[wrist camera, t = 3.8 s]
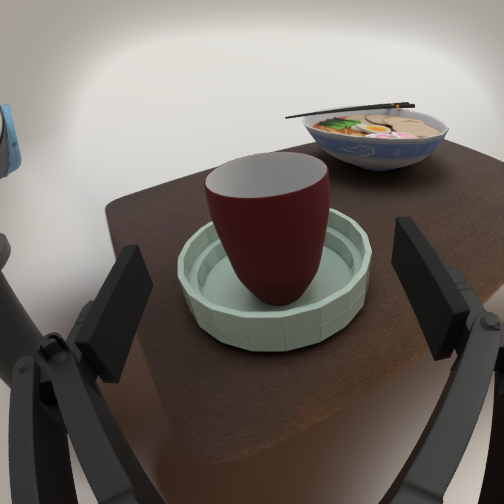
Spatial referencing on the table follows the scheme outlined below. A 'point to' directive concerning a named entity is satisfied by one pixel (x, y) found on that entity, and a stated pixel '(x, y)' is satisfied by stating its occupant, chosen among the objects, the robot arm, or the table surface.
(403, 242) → the robot arm
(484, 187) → the table surface
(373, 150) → the ramen bowl
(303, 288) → the mug
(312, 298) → the serving bowl
